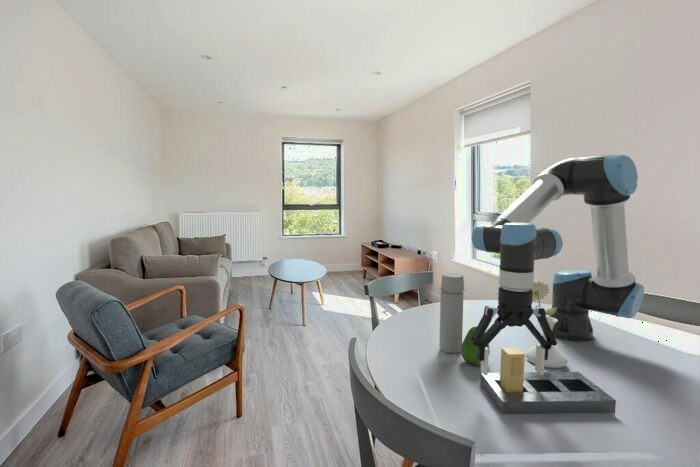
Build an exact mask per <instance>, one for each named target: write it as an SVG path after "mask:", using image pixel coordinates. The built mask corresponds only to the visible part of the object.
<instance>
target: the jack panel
mask: <svg viewBox="0 0 700 467" xmlns="http://www.w3.org/2000/svg"><path fill="white" fill-rule="evenodd" d="M480 385H481V387H482V388H483V390H484V391H485V392H486V394H487V395H488V397H489V398H490V400H492V402H493V404H494V405H495V406H496V408H497V409H498V410H499V412H500V413H501V414H502V415H557V414H558V415H562V414H563V415H567V414H568V415H570V414H571V415H572V414H611V415H613V417H616V416H615V415H616V404H617V400H616V399H615V398H613V397H612V396H611V395H609V394H608V393H607V392H606V391H604V390H603V389H602V388H600V387H599V386H598V385H596V384H595V383H594V382H592V380H590V379H589V378H587V377H586V376H585V375H583V373H581V372H579V371H544V375H540V374H539V373H538V372H537V371H533V372H532V371H531V372H530V371H529V372H528V371H526V372H525V371H524V382H523V392H503V390H502V389H501V388H500V372H488V375H484V374H483V373H482V372H480Z"/></svg>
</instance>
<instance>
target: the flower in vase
mask: <svg viewBox="0 0 700 467" xmlns="http://www.w3.org/2000/svg"><path fill="white" fill-rule="evenodd" d="M531 290H532V291H533V298H532V302H536V301H537V302H538V306H540V307H541V303H540V302H541V301H540V300H543V299H544V298H545V297H547V295H548V294H549V293H550V292H549V291H550V288H549V284H546V283H545V282H544V281H538V282H536V281H533V288H531ZM556 310H557V307H555V308H552V307H551V308H548V309H545V315H546V319H547V321H548V324H549V326H550V328H551V330H553V327H554V325H555V323H556V322H557V321H558V320H557V319H555V318H552V317H549V315H552V314H554V313H555V312H556ZM532 315H534V313H533V314H532ZM542 334H543V335H542V336H543V337H544V339H546V337H545V335H544V333H542ZM538 344H539V345H541V344H540V343H538ZM524 354H525V358H526V359H527V360H528V361H529V362H531V363H533V364H534V365H535V360H536V345H534V346H532V347H530V348H529V349H528V350H526V352H525V353H524ZM568 364H569V361H568V359H567V357H566V356H565V354H564V353H563V352H562V351H561V350H560V349H559V348H557V347H556V345H555V346H554V345H552V346H551V349H549V350H548V359H547V360H544V368H549V369H561V368H563V367H566V366H567V365H568Z"/></svg>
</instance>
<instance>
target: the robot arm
mask: <svg viewBox="0 0 700 467" xmlns="http://www.w3.org/2000/svg"><path fill="white" fill-rule="evenodd" d="M638 178H639V177H638V171H637V167H636V164H635V162H634V161H633V159H632V158H631V157H630V156H628V155H625V154H603V155H602V154H601V155H589V156H581V157H579V156H578V157H576V156H575V157H570V158H566V159H563V160H561V161H558V162H556V163H554V164H553V165H551V166H549V167H548V168H546V169H545V170H543V171H542V172H541V173H540V174H538V175H537V176H536V177H535V178H534V180H533V182H532V185H531V186H530V187H529V188H528V189H527V190H525V192H523V193H522V195H520V196H519V197H518V198H517V199H516V200H515V201H514V202H513V203H512V204H511V205H509V207H507V208H506V209H505V210H504V211H503V212H502V213H501V214H500V215H499V216H498V217H496V218H495V220H493V221H491V223H490V224H479V225H477V226H475V227H474V228H473V231H472V232H471V243H472V246H473V247H474V249H476V250H478V251H482V252H486V253H491V254H492V253H493V254H499V256H500V257H499V272H498V273H499V274H498V278H499V279H498V284H499V287H498V297H497V299H498V300H497V301H498V305H497V307H496V308H495V307H490V306H489V305H486V306H484V310H483V315H482V317H481V319H480V320H479V322H478V324H477V325H476V327H477V328H476V329H475V331H474V333H473V335H472V337H471V339H470V341H471V343H472V344H473V345H474V346H478V354H477V357H478V359H479V360H480V361H481V366H480V371H481V373H483V374H484V375H488V373H489V356H488V354H489V355H490V352H489V351H490V348H489V349H488V348H487V347H486V346H487V345H488V344H489V345H490V343H491V342H492V341H493V340H494V339H495V338H496V336H497V335H498V334H499V333H501V331H502V330H503V329H505V328H507V326H508V327H511V328H513V327H523V326H525V327H526V328H527V330H529V332H530V333H531V335H532V336H533V337H534V338H535V339H536V340H537V342H538V344H535V346H536V360H535V364H534V370H535V372H538V373H539V374H540V375H544V372H545V367H544V360H547V359H548V350H549V349H551V346H552V345H554V346H555V347H556V346H557V344H558V342H557V341H558V340H556V338H559V339H563V340H568V341H569V340H570V341H575V342H576V341H577V342H578V341H579V342H581V341H584V342H585V341H589V340H592V339H594V329H593V326H592V323H591V319H590V316H589V314H590V312H589V311H592V312H598V313H601V314H606V315H611V316H615V317H619V318H626V319H631V318H634V317H635V316H636V315H637V314H638V312H639V310H640V309H641V306H642V302H643V299H644V294H645V287H644V285H643V284H640V283H639V282H638V283H637V281H636V276H635V275H634V274H633V273H632V272H631V271H630V267H629V255H628V240H627V239H628V238H627V225H626V211H625V204H626V202H628V201H629V200H630V199H631V195H633V194H634V193H635V192H636V190H637V188H638V180H639V179H638ZM569 195H581V196H583V201H584V203H585V205H587V206H589V207H590V214H591V224H592V225H591V226H592V236H593V245H594V255H595V263H596V264H595V265H596V272H595V273H594V274H592V272H591V271H590V270H585V269H571V270H570V269H567V270H560V271H557V272H555V273H554V275H553V279H552V280H553V281H552V294H551V295H552V298H551V308H555V307H557V310H556V312H555V313H554V314H552V315H548V317H552V318H555V319H557V320H558V321H557V322H556V323H555V325H554V327H553V330H551V328H550V326H549V324H548V321H547V319H546V317H547V315H545V312H546V309H545V308H544V307H542V306H541V305H540V306H539V305H536V306H535V307H532V305H533V301H532V298H533V291H532V290H531V288H533V282H534V275H535V274H534V272H535V269H534V268H535V261H538V260H539V261H540V260H544V259H545V260H546V259H550V258H552V257H555V256H557V255H558V254H559V253H560V252H561V250H562V248H563V244H564V243H563V242H564V241H563V238H562V236H561V234H560V232H558V231H556V230H555V229H553V228H548V227H547V228H545V227H541V228H537V227H536V225H535V224H533V223H532V222H533V221H534V220H535V219H536V218H537V217H538V216H539V215H540V214H541V213H542V212H543V211H544V210H545V209H546V208H547V207H548V206H549V205H550V204H551V203H552V202H554V201H558V200H559V199H561V198H562V197H563V196H569ZM533 313H534V314H533ZM496 314H497V317H496V316H495V315H496ZM532 315H534V316H535V317H536V320H537V322H538V324H539V326H540V328H541V330H542V332H543V333H544V335H545V337H546V339H544V337H543V335H542V334H543V333H542V334H541V333H540V331H539V330H538V329H537V327H535V325H534V324H533V323H532V321H531V319H530V318H531V317H532ZM495 317H496V319H494V322H493V323H492V325H490V323H491V322H492V320H493V318H495ZM489 326H490V327H489ZM484 333H485V334H484ZM539 344H541V345H539Z"/></svg>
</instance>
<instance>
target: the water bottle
mask: <svg viewBox="0 0 700 467" xmlns="http://www.w3.org/2000/svg"><path fill="white" fill-rule="evenodd" d="M464 282H465V280H464V275H463V274H461V273H458V272H457V273H455V272H445V273H443V274H442V275H441V283H440V288H439V290H440V301H439V302H440V303H439V304H440V306H439V310H440V311H439V312H440V314H439V349H440V350H441V351H442V352H444V353H446V354H451V355H453V354H457V353H458V354H459V353H460V352H461V348H462V343H463V330H464V329H463V326H464V325H463V324H464V320H463V318H464V292H465V291H466V290H465V283H464Z"/></svg>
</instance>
